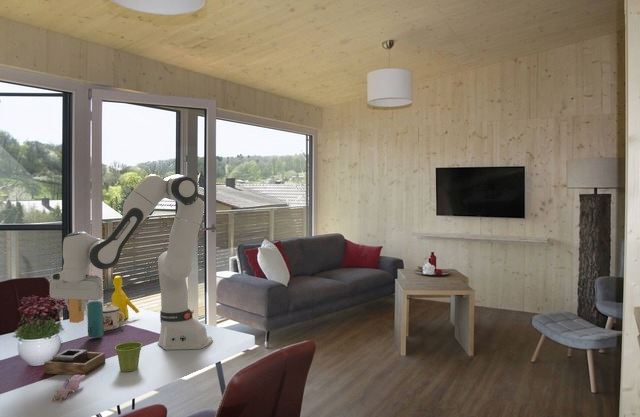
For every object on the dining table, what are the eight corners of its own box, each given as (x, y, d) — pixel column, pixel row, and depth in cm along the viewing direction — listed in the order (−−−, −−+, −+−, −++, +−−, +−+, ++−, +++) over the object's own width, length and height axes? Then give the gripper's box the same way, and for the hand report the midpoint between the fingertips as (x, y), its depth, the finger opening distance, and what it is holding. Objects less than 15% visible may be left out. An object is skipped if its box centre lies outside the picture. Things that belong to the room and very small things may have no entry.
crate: (105, 363, 182) (105, 352, 182) (85, 375, 170) (85, 364, 170) (66, 360, 184) (66, 350, 184) (44, 373, 172) (44, 362, 172)
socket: (87, 361, 181) (87, 349, 181) (73, 369, 173) (73, 357, 173) (68, 360, 182) (67, 348, 182) (53, 368, 174) (53, 356, 174)
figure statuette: (141, 317, 244) (140, 274, 243) (134, 321, 237) (133, 277, 235) (107, 316, 246) (106, 273, 245) (99, 320, 238) (98, 276, 237)
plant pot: (124, 363, 182) (124, 340, 181) (147, 365, 180) (147, 342, 180) (109, 373, 173) (109, 349, 172) (133, 374, 171) (133, 351, 170)
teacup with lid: (94, 330, 223) (94, 305, 222) (104, 324, 232) (104, 300, 231) (120, 330, 222) (119, 305, 221) (129, 324, 231) (128, 301, 230)
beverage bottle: (106, 336, 214) (105, 291, 213) (98, 341, 207) (97, 295, 206) (93, 335, 214) (91, 291, 213) (84, 340, 208) (83, 295, 207)
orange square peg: (83, 320, 185) (83, 291, 184) (77, 322, 181) (77, 293, 181) (75, 319, 185) (75, 291, 185) (69, 322, 182) (69, 293, 181)
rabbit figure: (67, 406, 150) (92, 379, 164) (64, 389, 148) (90, 364, 163) (47, 406, 150) (74, 379, 165) (45, 389, 149) (72, 363, 163)
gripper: (106, 274, 184) (106, 309, 184) (58, 272, 187) (58, 307, 188) (96, 277, 177) (96, 314, 178) (46, 275, 181) (46, 311, 181)
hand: (76, 310), depth 183 cm, fingers closed on orange square peg, 3 cm apart
